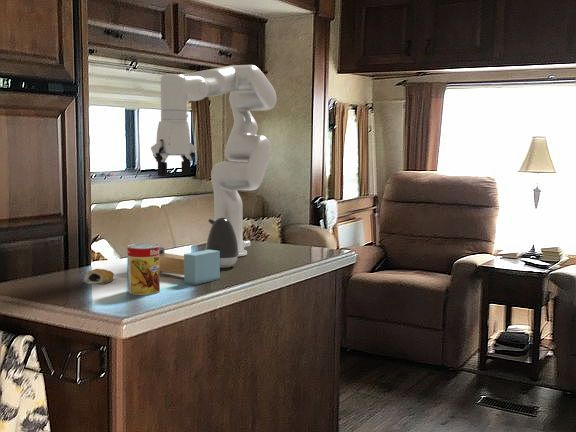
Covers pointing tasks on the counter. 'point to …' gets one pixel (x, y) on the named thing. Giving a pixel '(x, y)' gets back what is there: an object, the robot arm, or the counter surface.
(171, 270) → the tan wooden plank
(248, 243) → the robot arm
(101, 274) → the pastry
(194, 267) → the socket block
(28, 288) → the counter surface
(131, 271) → the canned food
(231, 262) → the pump dispenser
